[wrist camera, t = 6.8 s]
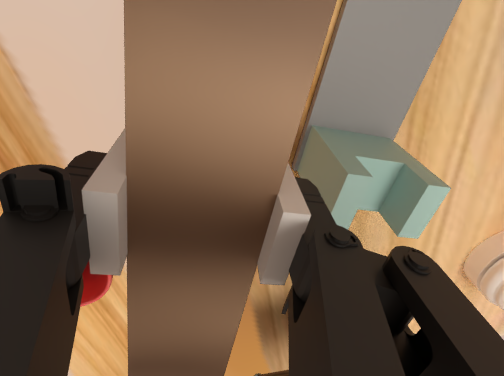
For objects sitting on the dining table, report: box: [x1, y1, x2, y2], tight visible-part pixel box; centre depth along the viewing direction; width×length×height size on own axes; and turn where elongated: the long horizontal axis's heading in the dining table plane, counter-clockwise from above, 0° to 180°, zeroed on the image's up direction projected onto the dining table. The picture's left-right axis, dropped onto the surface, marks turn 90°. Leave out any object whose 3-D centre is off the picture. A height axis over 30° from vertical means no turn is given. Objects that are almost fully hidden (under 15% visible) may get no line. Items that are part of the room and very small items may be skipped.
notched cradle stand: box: [292, 0, 462, 239], centre depth 25 cm, size 31×11×12 cm, turn 168°
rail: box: [124, 0, 337, 376], centre depth 11 cm, size 28×4×6 cm, turn 168°
